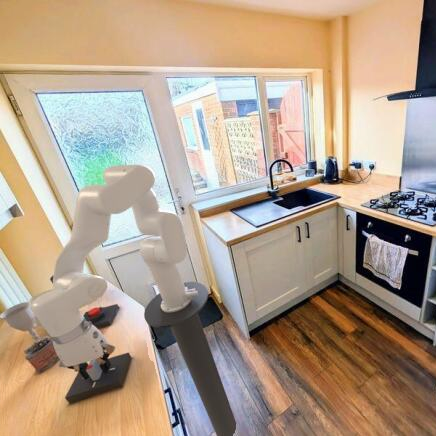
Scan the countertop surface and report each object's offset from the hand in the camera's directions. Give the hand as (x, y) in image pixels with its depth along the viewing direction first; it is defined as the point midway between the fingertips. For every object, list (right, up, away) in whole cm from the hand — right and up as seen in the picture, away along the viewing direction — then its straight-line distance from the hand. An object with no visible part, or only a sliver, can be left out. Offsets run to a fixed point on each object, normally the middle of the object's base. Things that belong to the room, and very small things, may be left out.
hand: (98, 371), depth 76 cm
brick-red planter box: (-24, -3, +9) cm, 26 cm away
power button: (-20, +9, +24) cm, 32 cm away
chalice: (-34, -1, +16) cm, 38 cm away
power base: (-20, +5, +25) cm, 33 cm away
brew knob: (0, -1, 0) cm, 1 cm away
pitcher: (-38, +3, +26) cm, 46 cm away
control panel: (0, -3, +2) cm, 4 cm away
